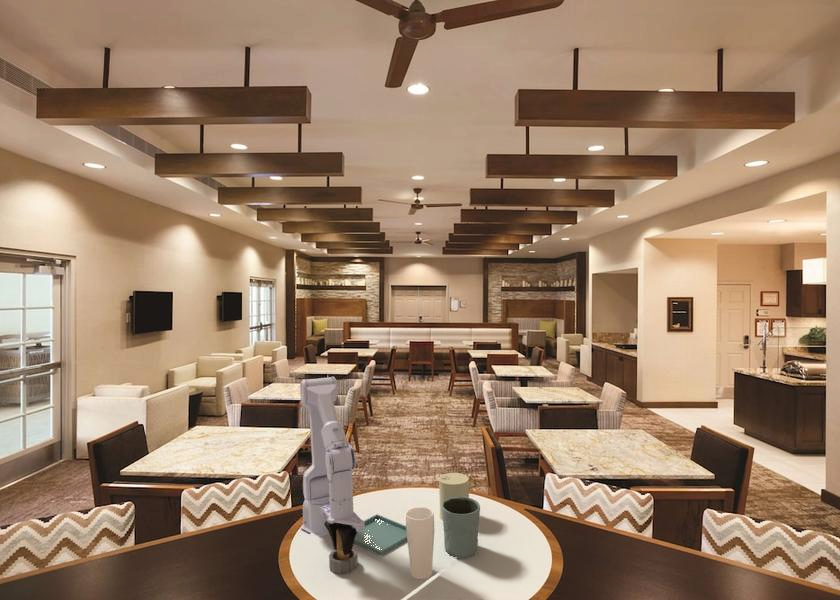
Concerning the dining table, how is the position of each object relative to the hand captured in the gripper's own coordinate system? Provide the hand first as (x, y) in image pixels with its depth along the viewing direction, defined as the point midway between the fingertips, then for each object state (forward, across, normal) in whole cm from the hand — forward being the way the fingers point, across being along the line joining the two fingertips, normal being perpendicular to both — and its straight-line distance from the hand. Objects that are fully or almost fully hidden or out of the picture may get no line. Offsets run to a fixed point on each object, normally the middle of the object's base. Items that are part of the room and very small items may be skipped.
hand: (343, 550), depth 121 cm
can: (+5, +5, +39) cm, 40 cm away
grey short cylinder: (+4, 0, 0) cm, 4 cm away
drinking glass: (+5, +17, +10) cm, 20 cm away
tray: (+4, -4, +16) cm, 17 cm away
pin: (+4, 0, 0) cm, 4 cm away
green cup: (+5, +18, +25) cm, 31 cm away
